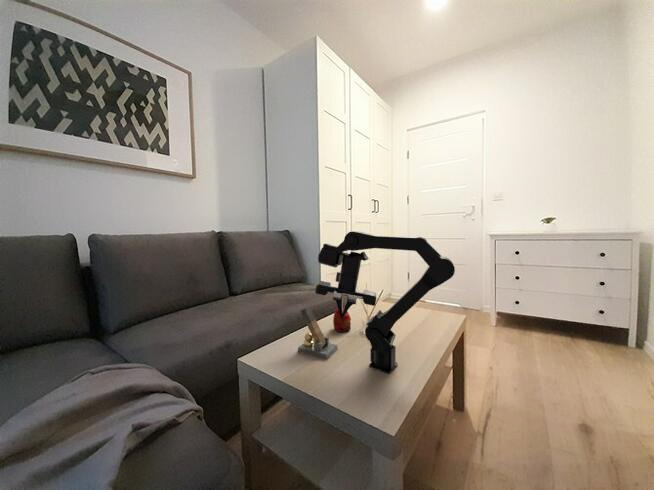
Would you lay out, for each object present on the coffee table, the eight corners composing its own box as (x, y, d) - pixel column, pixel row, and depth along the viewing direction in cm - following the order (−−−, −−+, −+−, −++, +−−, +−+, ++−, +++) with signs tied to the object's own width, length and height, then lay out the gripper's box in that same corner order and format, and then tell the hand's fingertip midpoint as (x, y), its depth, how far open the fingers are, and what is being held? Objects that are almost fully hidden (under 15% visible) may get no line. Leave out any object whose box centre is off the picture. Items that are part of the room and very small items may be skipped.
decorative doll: (341, 334, 98) (340, 296, 97) (329, 329, 103) (328, 293, 103) (354, 329, 103) (354, 293, 102) (342, 324, 108) (342, 290, 108)
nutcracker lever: (327, 343, 85) (309, 306, 87) (322, 347, 82) (304, 308, 85) (322, 345, 86) (305, 308, 88) (318, 349, 83) (300, 310, 86)
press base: (337, 349, 86) (337, 333, 85) (327, 359, 79) (326, 342, 79) (309, 342, 91) (309, 328, 91) (298, 351, 84) (297, 336, 84)
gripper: (378, 271, 84) (369, 314, 87) (324, 260, 87) (317, 303, 89) (380, 279, 74) (370, 329, 76) (318, 267, 76) (311, 315, 78)
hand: (341, 318), depth 80 cm, fingers closed
